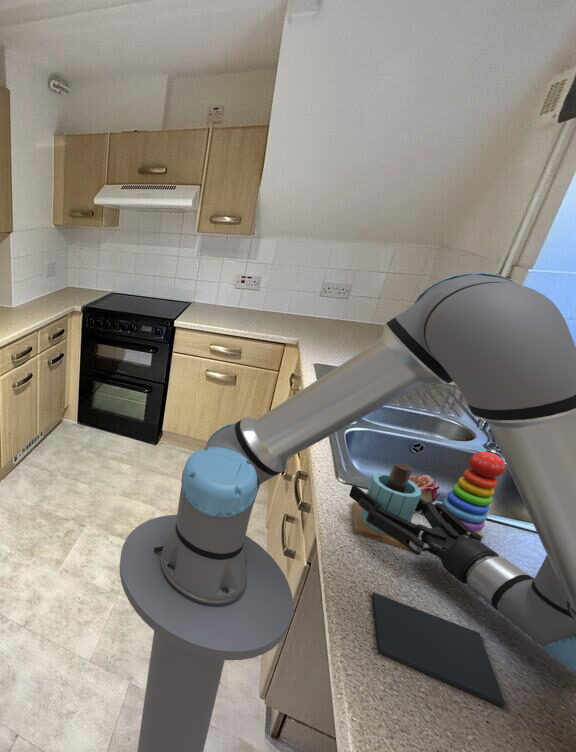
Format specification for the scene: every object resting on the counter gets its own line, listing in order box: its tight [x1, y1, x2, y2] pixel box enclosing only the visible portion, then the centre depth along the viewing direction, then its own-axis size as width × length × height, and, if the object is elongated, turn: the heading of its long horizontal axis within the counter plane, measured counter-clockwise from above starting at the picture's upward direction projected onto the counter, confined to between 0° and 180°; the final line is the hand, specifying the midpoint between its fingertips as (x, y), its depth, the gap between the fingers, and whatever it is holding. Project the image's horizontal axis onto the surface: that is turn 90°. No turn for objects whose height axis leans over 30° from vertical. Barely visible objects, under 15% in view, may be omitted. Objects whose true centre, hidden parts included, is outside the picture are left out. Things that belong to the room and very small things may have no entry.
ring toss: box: [351, 461, 413, 551], centre depth 86 cm, size 10×10×16 cm
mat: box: [371, 592, 506, 708], centre depth 64 cm, size 14×12×1 cm
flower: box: [409, 473, 441, 504], centre depth 95 cm, size 10×9×8 cm
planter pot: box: [360, 472, 422, 535], centre depth 87 cm, size 8×8×10 cm
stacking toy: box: [440, 451, 506, 536], centre depth 86 cm, size 8×8×19 cm
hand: (372, 488), depth 91 cm, fingers open, 9 cm apart
